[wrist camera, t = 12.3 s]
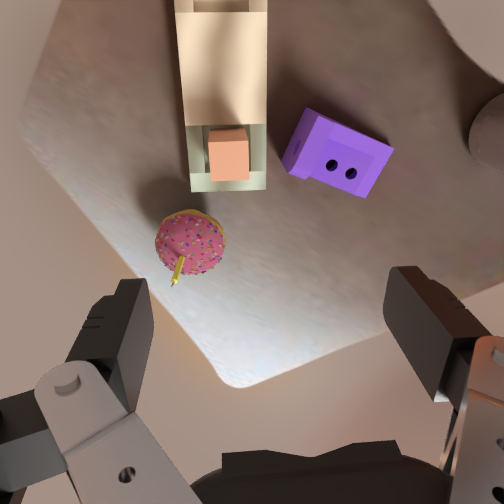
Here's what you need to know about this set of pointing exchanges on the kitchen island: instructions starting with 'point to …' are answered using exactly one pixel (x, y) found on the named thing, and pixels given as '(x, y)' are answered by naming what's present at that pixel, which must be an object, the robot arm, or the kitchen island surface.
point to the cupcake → (189, 242)
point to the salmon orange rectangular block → (228, 154)
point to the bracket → (334, 154)
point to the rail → (223, 82)
